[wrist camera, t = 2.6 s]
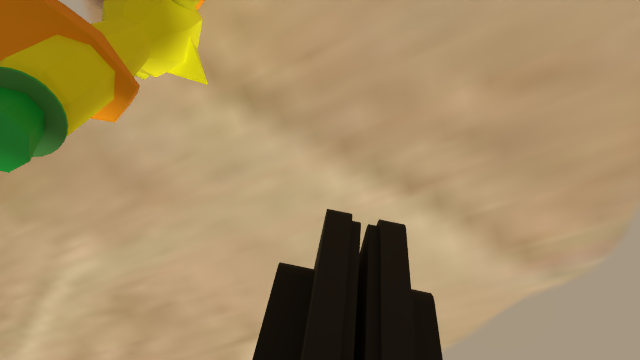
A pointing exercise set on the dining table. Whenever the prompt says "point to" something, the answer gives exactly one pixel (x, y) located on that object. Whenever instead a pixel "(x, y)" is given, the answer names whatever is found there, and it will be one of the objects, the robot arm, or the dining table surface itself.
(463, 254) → the dining table surface
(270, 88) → the dining table surface
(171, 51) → the toy figure
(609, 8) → the dining table surface
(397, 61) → the dining table surface
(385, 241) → the robot arm
